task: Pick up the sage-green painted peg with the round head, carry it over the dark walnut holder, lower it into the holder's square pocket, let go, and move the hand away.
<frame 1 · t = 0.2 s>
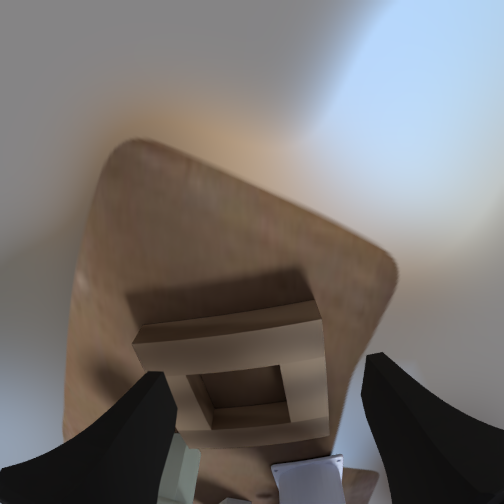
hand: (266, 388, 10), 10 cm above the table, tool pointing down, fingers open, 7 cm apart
walnut holder: (243, 380, 22), on the table
green peg: (177, 443, 26), on the table
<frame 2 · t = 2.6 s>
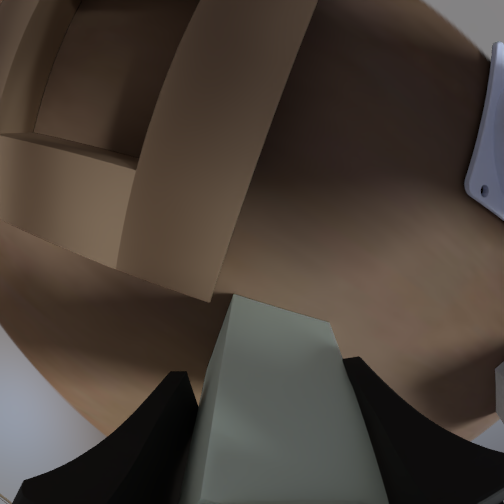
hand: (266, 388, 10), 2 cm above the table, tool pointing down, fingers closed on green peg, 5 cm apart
walnut holder: (114, 63, 8), on the table
green peg: (265, 348, 12), on the table, touching gripper
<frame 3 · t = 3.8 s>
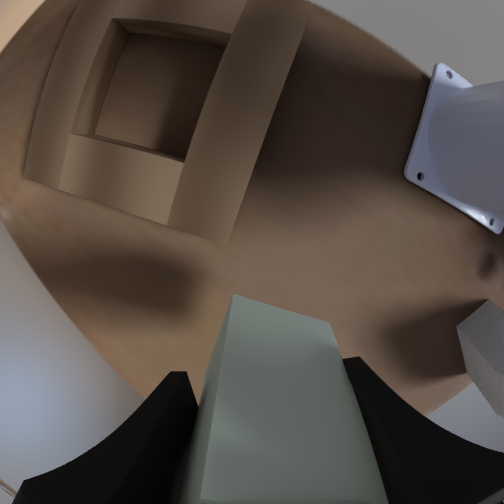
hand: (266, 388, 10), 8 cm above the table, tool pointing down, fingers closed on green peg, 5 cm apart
walnut holder: (159, 90, 14), on the table
green peg: (265, 348, 12), point 6 cm above the table, touching gripper
grey gabled block: (477, 337, 19), on the table
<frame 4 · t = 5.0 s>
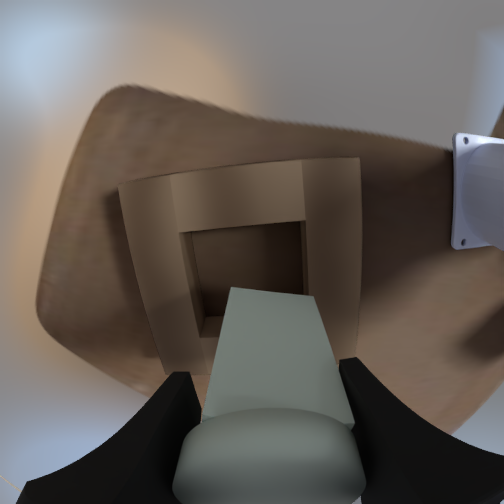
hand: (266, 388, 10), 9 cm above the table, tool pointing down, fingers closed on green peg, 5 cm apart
walnut holder: (249, 267, 18), on the table
green peg: (266, 327, 15), point 4 cm above the table, touching gripper
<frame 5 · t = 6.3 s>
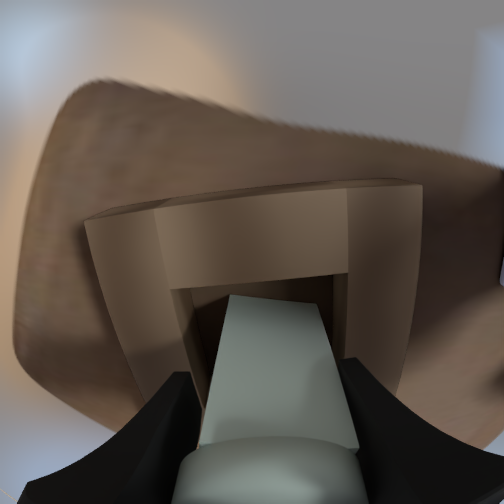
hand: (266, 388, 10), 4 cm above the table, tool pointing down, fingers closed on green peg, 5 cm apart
walnut holder: (265, 322, 14), on the table
green peg: (267, 335, 14), resting in walnut holder, touching gripper
when the fingers open (4 cm above the table, at t = 7.0 s): green peg stays where it is, resting in walnut holder.
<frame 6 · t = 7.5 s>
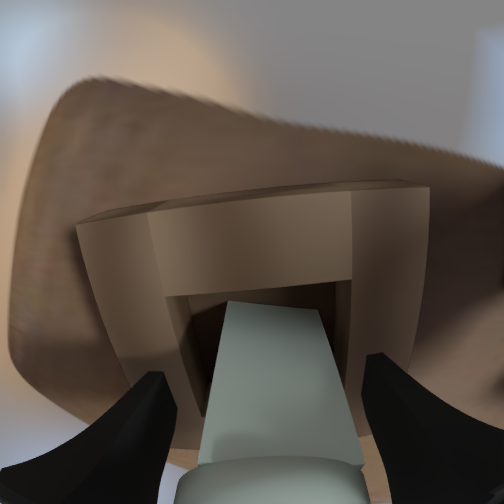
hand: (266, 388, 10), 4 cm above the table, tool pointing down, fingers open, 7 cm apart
walnut holder: (264, 328, 13), on the table
green peg: (267, 342, 14), resting in walnut holder
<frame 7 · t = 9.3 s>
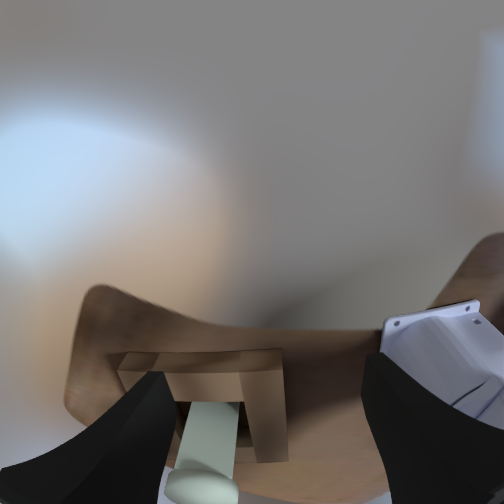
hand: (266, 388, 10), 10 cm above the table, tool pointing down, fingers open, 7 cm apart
walnut holder: (213, 406, 24), on the table
green peg: (216, 411, 24), resting in walnut holder
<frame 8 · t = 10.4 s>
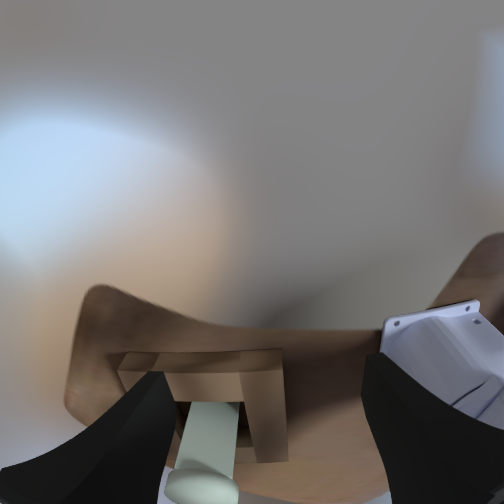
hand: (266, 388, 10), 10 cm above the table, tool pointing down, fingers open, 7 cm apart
walnut holder: (213, 406, 24), on the table
green peg: (216, 411, 24), resting in walnut holder
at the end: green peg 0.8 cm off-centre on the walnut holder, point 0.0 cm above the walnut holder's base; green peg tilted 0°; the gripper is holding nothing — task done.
